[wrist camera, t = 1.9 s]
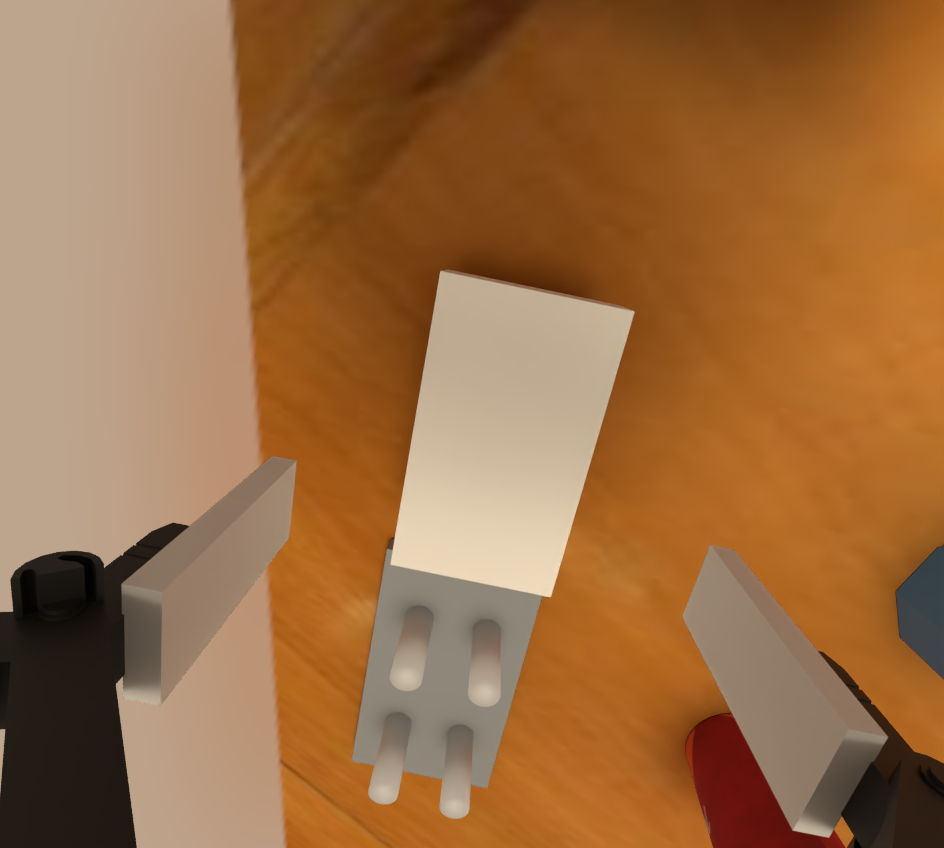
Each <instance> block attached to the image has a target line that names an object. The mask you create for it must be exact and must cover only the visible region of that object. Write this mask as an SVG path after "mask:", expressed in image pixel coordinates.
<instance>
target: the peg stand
mask: <svg viewBox="0 0 944 848" xmlns="http://www.w3.org/2000/svg"><path fill="white" fill-rule="evenodd" d="M394 540H395V539H391V540H390V542H389V545H388V547H387V551H386V558H385V564H384V570H383V576H382V582H381V588H380V594H379V600H378V606H377V612H376V618H375V624H374V630H373V636H372V642H371V648H370V654H369V660H368V666H367V672H366V678H365V684H364V690H363V696H362V702H361V708H360V714H359V720H358V726H357V732H356V738H355V744H354V750H353V756H352V761H354V762H359V763H364V764H369V765H374V770H373V774H372V778H371V782H370V786H369V790H368V794H369V797H370V798H371V799H372V800H373V801H374V802H376V803H379V804H391V803H393V802H394V801H395V800H396V799H397V797H398V792H399V787H400V782H401V776H402V771H404V772H408V773H413V774H418V775H423V776H428V777H433V778H438V779H443V781H442V789H441V798H440V811H441V812H442V813H443V814H444V815H445V816H447V817H449V818H454V819H457V818H462V817H464V816H466V815H467V814H468V812H469V804H470V788H471V785H473V786H478V787H483V788H487V786H488V783H489V779H490V776H491V773H492V769H493V766H494V762H495V759H496V755H497V752H498V748H499V745H500V741H501V738H502V734H503V731H504V727H505V724H506V720H507V717H508V713H509V710H510V706H511V703H512V699H513V696H514V692H515V689H516V685H517V682H518V679H519V675H520V672H521V668H522V665H523V661H524V658H525V654H526V651H527V647H528V644H529V640H530V637H531V633H532V630H533V626H534V623H535V619H536V616H537V612H538V609H539V605H540V602H541V598H542V595H537V594H532V593H527V592H522V591H517V590H512V589H507V588H502V587H497V586H492V585H488V584H483V583H478V582H473V581H468V580H463V579H458V578H453V577H448V576H443V575H438V574H434V573H429V572H424V571H419V570H414V569H409V568H404V567H399V566H394V565H390V564H391V558H392V552H393V546H394Z"/></svg>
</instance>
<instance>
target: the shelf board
mask: <svg viewBox="0 0 944 848" xmlns="http://www.w3.org/2000/svg"><path fill="white" fill-rule="evenodd" d="M634 313H635V311H632V310H630V309H628V308H625V307H623V306H620V305H617V304H612V303H607V302H602V301H597V300H593V299H588V298H583V297H578V296H573V295H569V294H564V293H559V292H554V291H549V290H545V289H540V288H535V287H530V286H525V285H521V284H516V283H511V282H506V281H501V280H497V279H492V278H487V277H482V276H477V275H473V274H468V273H463V272H458V271H453V270H449V269H447V270H443V271H440V276H439V282H438V288H437V294H436V300H435V306H434V311H433V317H432V323H431V329H430V335H429V341H428V347H427V352H426V358H425V364H424V370H423V376H422V382H421V388H420V394H419V399H418V405H417V411H416V417H415V423H414V429H413V435H412V440H411V446H410V452H409V458H408V464H407V470H406V476H405V481H404V487H403V493H402V499H401V505H400V511H399V517H398V523H397V528H396V534H395V540H394V546H393V552H392V558H391V564H390V565H394V566H399V567H404V568H409V569H414V570H419V571H424V572H429V573H434V574H438V575H443V576H448V577H453V578H458V579H463V580H468V581H473V582H478V583H483V584H488V585H492V586H497V587H502V588H507V589H512V590H517V591H522V592H527V593H532V594H537V595H542V596H546V597H551V595H552V591H553V588H554V585H555V581H556V578H557V574H558V571H559V568H560V564H561V561H562V557H563V554H564V551H565V547H566V544H567V540H568V537H569V534H570V530H571V527H572V523H573V520H574V517H575V513H576V510H577V506H578V503H579V500H580V496H581V493H582V489H583V486H584V483H585V479H586V476H587V472H588V469H589V466H590V462H591V459H592V455H593V452H594V449H595V445H596V442H597V438H598V435H599V432H600V428H601V425H602V421H603V418H604V415H605V411H606V408H607V404H608V401H609V398H610V394H611V391H612V387H613V384H614V381H615V377H616V374H617V370H618V367H619V364H620V360H621V357H622V353H623V350H624V347H625V343H626V340H627V336H628V333H629V330H630V326H631V323H632V319H633V316H634Z"/></svg>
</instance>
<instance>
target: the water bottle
mask: <svg viewBox="0 0 944 848" xmlns="http://www.w3.org/2000/svg"><path fill="white" fill-rule="evenodd" d="M896 601H897V611H898V622H899V633H900V638H901V639H902V640H903V641H904V642H905V643H906V644H907V645H908V646H909V647H910V648H911V649H912V650H913V651H914V652H916V653H917V654H918V655H919V656H920V657H921V658H922V659H923V660H924V661H925V662H926V663H927V664H928V665H929V666H930V667H931V668H932V669H933V670H934V671H935V672H936V673H938V674H939V675H940V676H941V677H942V678H943V679H944V546H942V547H938V548H937V549H936V550H935V551H934V552H933V553H932V554H931V555H930V556H929V557H928V558H927V559H926V560H925V561H924V562H923V563H922V565H921V566H920V567H919V568H918V569H917V570H916V571H915V572H914V573H913V574H912V575H911V576H910V577H909V578H908V579H907V580H906V581H905V582H904V583H903V585H902V586H901V587H900V588H899V589H898V590H897V591H896Z"/></svg>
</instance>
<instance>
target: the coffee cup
mask: <svg viewBox="0 0 944 848" xmlns="http://www.w3.org/2000/svg"><path fill="white" fill-rule="evenodd" d="M686 755H687V759H688V763H689V767H690V771H691V774H692V778H693V781H694V785H695V788H696V791H697V795H698V798H699V802H700V805H701V808H702V812H703V815H704V818H705V822H706V825H707V828H708V832H709V835H710V838H711V842H712V845H713V848H845V846H844V845H843V843H842V842H841V840H840V839H839V837H838V835H837V834H836V832H835V831H834V830H833V832H832V833H831V835H830V837H829V838H828V837H823V836H818V835H813V834H808V833H803V832H798V831H793V830H792V828H791V826H790V824H789V823H788V821H787V819H786V817H785V815H784V813H783V811H782V809H781V807H780V805H779V803H778V801H777V799H776V797H775V795H774V794H773V792H772V790H771V788H770V786H769V784H768V782H767V780H766V778H765V776H764V774H763V772H762V770H761V768H760V766H759V765H758V763H757V761H756V759H755V757H754V755H753V753H752V751H751V749H750V747H749V745H748V743H747V741H746V739H745V737H744V736H743V734H742V732H741V730H740V728H739V726H738V724H737V722H736V720H735V718H734V716H733V714H732V713H729V714H721V715H716V716H713V717H710V718H708V719H706V720H704V721H702V722H701V723H699V724H698V725H697V726H696V727H695V728H694V729H693V730H692V731H691V733H690V734H689V736H688V738H687V741H686Z"/></svg>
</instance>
